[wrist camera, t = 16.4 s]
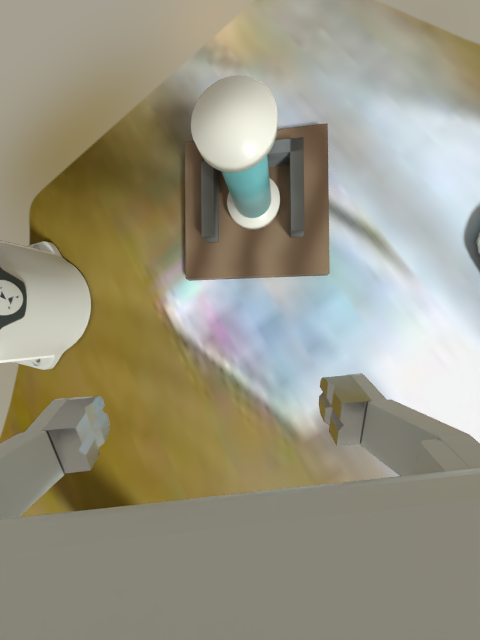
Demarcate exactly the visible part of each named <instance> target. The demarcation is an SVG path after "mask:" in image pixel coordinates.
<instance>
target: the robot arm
mask: <svg viewBox="0 0 480 640" xmlns="http://www.w3.org/2000/svg"><path fill="white" fill-rule="evenodd" d="M90 312H91V298H90V292H89V289H88V286H87V283H86V281H85V279H84V277H83V276H82V274H81V273H80V272H79V270H78V269H77V268H76V267H75V266H73V265H72V264H71V263H69V262H68V261H66V260H65V259H64V258H63V257H62V256H61V254H60V252H59V251H58V249H57V247H56V246H55V245H54V244H53V243H50V242H45V241H43V242H39V243H36V244H32V245H29V246H22V245H18V244H14V243H10V242H5V241H1V240H0V363H4V362H15V363H19V364H23V365H27V366H31V367H35V368H38V369H43V370H45V369H52V368H53V367H54V366H55V365H56V364H57V362H58V361H59V359H60V357H61V355H62V354H63V353H64V352H65V351H66V350H67V349H68V348H70V347H71V346H72V345H74V344H75V343H76V342H77V341H78V340H79V338H80V337H81V336H82V334H83V333H84V331H85V329H86V327H87V324H88V321H89V317H90ZM320 388H321V389H322V391H323V393H322V394H321V395H320V396H319V408H320V413H321V416H322V418H323V420H324V422H325V423H327V424H328V425H330V426H329V432H330V434H331V436H332V438H333V440H334V442H335V443H336V445H337V446H342V445H356V444H361V446H362V447H363V448H365V449H366V450H367V451H369V452H370V453H371V454H372V455H374V456H375V457H376V458H378V459H379V460H380V461H381V462H383V463H384V464H385V465H387V466H388V467H389V468H391V469H392V470H393V471H394V472H396V473H397V474H398V475H400V476H398V477H389V478H380V479H371V480H362V481H352V482H343V483H334V484H325V485H315V486H306V487H297V488H287V489H278V490H268V491H259V492H249V493H240V494H231V495H222V496H212V497H203V498H194V499H185V500H175V501H166V502H157V503H148V504H139V505H129V506H120V507H111V508H101V509H92V510H83V511H74V512H64V513H55V514H46V515H37V516H27V517H20V516H21V515H22V514H23V513H24V512H25V511H26V510H27V509H28V508H29V507H30V506H31V505H32V504H34V503H35V502H36V501H37V500H38V499H39V498H40V497H41V496H42V495H43V494H44V493H45V492H47V491H48V490H49V489H50V488H51V487H52V486H53V485H54V484H55V483H56V482H57V481H58V480H59V479H61V478H62V477H63V476H64V474H66V473H74V472H81V471H89V470H91V469H92V467H93V465H94V463H95V461H96V459H97V457H98V455H99V450H98V448H99V447H100V446H101V445H102V444H104V443H105V441H106V439H107V437H108V433H109V428H110V426H109V418H108V415H107V414H105V413H104V412H103V411H102V409H103V408H104V406H105V405H104V402H103V399H102V398H101V397H100V396H93V397H77V398H64V399H56V400H53V401H52V402H51V403H50V404H49V405H48V407H47V408H46V409H45V410H44V411H43V412H42V413H41V414H40V415H39V417H38V418H37V419H36V420H35V421H34V422H33V423H32V424H31V426H30V427H29V428H28V429H27V430H26V431H25V432H24V433H19V434H17V435H15V436H13V437H12V438H10V439H8V440H6V441H5V442H3V443H1V444H0V640H480V443H478V442H477V441H476V440H475V439H474V438H473V437H472V436H470V435H469V434H467V433H464V432H462V431H460V430H458V429H456V428H453V427H451V426H449V425H447V424H444V423H442V422H440V421H438V420H436V419H433V418H431V417H429V416H427V415H424V414H422V413H420V412H418V411H415V410H413V409H411V408H409V407H407V406H404V405H402V404H400V403H398V402H395V401H393V400H387V399H386V398H385V397H384V396H383V395H382V394H381V393H380V392H379V391H378V390H377V388H376V387H375V386H374V385H373V384H372V383H371V382H370V381H369V380H368V379H367V378H366V377H365V375H363V374H361V373H360V374H351V375H345V376H334V377H324V378H322V379H321V383H320Z"/></svg>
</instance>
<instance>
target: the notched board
mask: <svg viewBox="0 0 480 640" xmlns="http://www.w3.org/2000/svg"><path fill="white" fill-rule="evenodd" d="M267 159H268V169H269V178H270V179H272V180H273V181H274V183H275V184H276V186H277V187H278V190H279V194H280V207H279V211H278V214H277V216H276V217H275V219H274V220H273V221H272V222H271V223H270V224H269V225H267V226H266V227H264V228H261V229H257V230H248V229H244V228H242V227H240V226H239V225H237V224H236V223H235V222H234V220H233V219H232V217H231V215H230V213H229V210H228V206H227V198H228V194H229V189H228V186H227V184H226V182H225V179H224V177H223V174H222V172H221V171H220V170H217V169H215V168H213V167H212V166H210V165H209V164H208V163H207V162H206V161H205V160H204V159H203V157H202V156H201V154H200V152H199V150H198V148H197V146H196V144H195V142H194V141H188V142H185V242H186V279H188V280H215V279H241V278H267V277H293V276H320V275H328V274H329V200H328V127H327V123H326V124H319V125H311V126H303V127H296V128H288V129H280V130H277V135H276V139H275V142H274V144H273V147H272V148H271V150H270V152H269V153H268V154H267Z"/></svg>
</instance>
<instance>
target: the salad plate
mask: <svg viewBox="0 0 480 640" xmlns="http://www.w3.org/2000/svg"><path fill="white" fill-rule="evenodd" d="M477 247H478V252H479V255H480V233H479V236H478V239H477Z"/></svg>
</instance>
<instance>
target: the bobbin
mask: <svg viewBox="0 0 480 640" xmlns="http://www.w3.org/2000/svg"><path fill="white" fill-rule="evenodd" d="M277 127H278V124H277V107H276V102H275V99H274V97H273V95H272V93H271V91H270V90H269V89H268V88H267V87H266V86H265V85H264V84H263V83H262V82H260V81H259V80H257V79H255V78H252V77H248V76H239V75H238V76H230V77H226V78H224V79H221V80H219V81H217V82H215V83H214V84H212V85H211V86H210V87H209V88H207V89H206V90H205V91H204V93H203V94H202V95H201V96H200V98H199V99H198V101H197V103H196V105H195V107H194V110H193V113H192V118H191V132H192V136H193V139H194V142H195V144H196V146H197V148H198V150H199V152H200V154H201V156H202V157H203V159H204V160H205V161H206V162H207V163H208V164H209V165H210V166H212V167H213V168H215V169H217V170H220V171H221V172H222V174H223V177H224V179H225V182H226V184H227V186H228V189H229V194H228V198H227V206H228V210H229V213H230V215H231V217H232V219H233V220H234V222H235V223H236V224H237V225H239V226H240V227H242V228H244V229H248V230H257V229H261V228H264V227H266V226H267V225H269V224H270V223H271V222H272V221H273V220H274V219H275V217H276V216H277V214H278V211H279V207H280V194H279V190H278V187H277V186H276V184H275V183H274V181H273V180H272V179H270V178H269V169H268V159H267V154H268V153H269V152H270V150H271V148H272V147H273V144H274V142H275V139H276V135H277Z"/></svg>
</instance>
